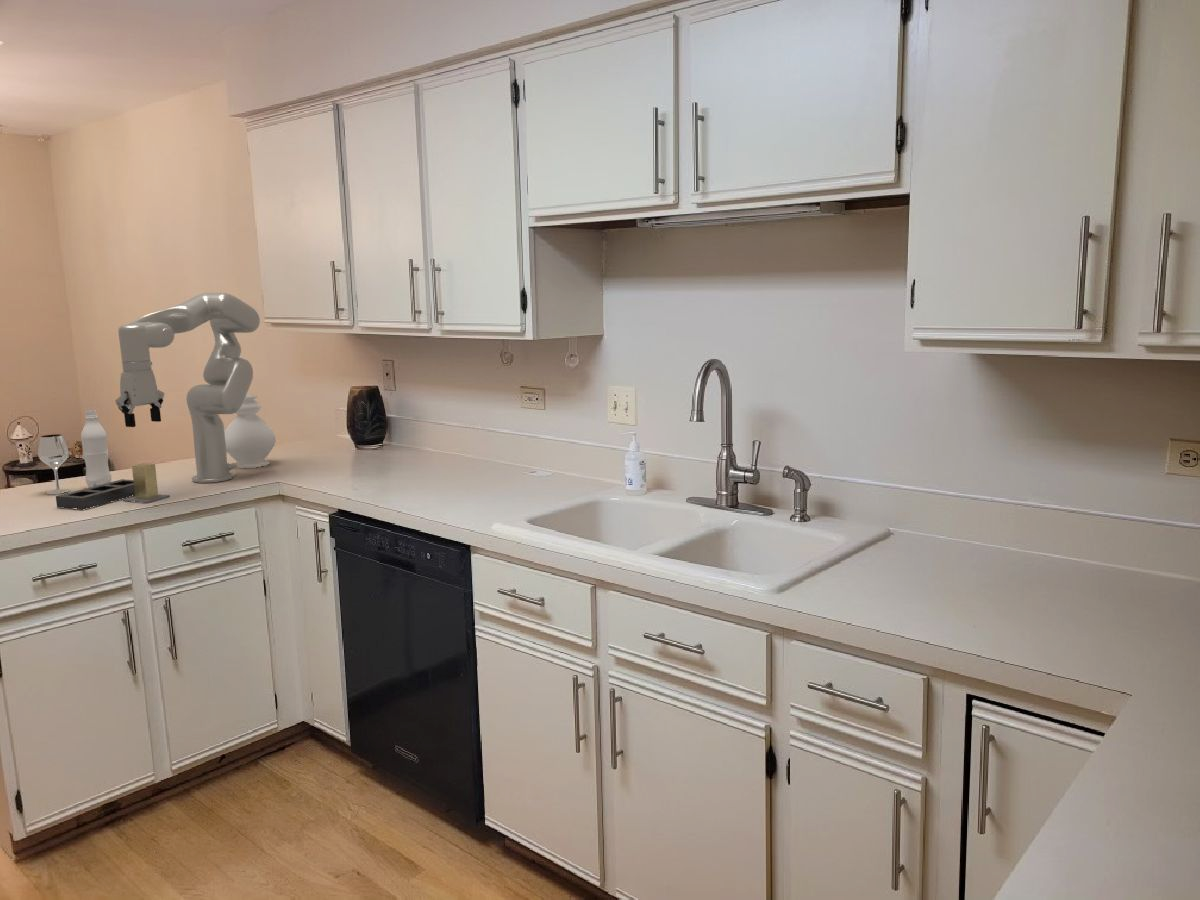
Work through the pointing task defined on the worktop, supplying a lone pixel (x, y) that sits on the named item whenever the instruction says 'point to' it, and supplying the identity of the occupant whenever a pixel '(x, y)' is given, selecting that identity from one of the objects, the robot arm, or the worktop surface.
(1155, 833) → the worktop surface
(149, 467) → the brass peg
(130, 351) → the robot arm
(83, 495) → the dark grey compartment tray
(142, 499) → the grey rubber mat
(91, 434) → the water bottle
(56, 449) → the wineglass
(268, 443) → the decorative vase
